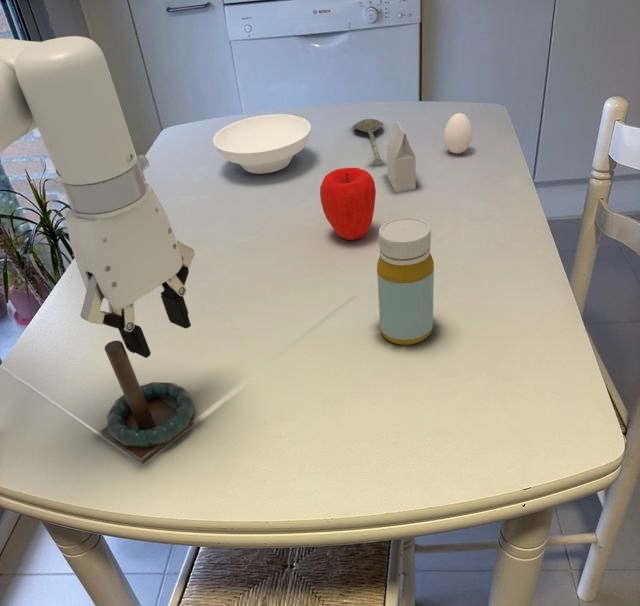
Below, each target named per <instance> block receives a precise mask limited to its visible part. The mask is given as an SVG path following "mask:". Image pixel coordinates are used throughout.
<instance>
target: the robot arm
mask: <svg viewBox="0 0 640 606" xmlns="http://www.w3.org/2000/svg"><path fill="white" fill-rule="evenodd" d="M35 129H38V132H39V134H40V137H41V139H42V141H43V144H44V146H45V148H46V152H47V154H48V156H49V158H50V161H51V163H52V166H53V169H54V171H55V173H56V175H57V177H58V180H59V183H60V186H61V188H62V190H63V192H64V195H65V197H66V200H67V202H68V204H69V207H70V210H68V211H67V212H66V213H65V215H64V216H65V217H64V218H65V223H66V228H67V229H66V230H67V233H68V238H69V242H70V246H71V249H72V253H73V257H74V259H75V263H76V265H77V269H78V271H79V274H80V277H81V280H82V282H83V285H84V287H85V290H86V293H85V297H84V300H83V304H82V308H81V312H80V318H81V319H82V320H84V321H87V322H89V323H92V324H97V325H103V326H108V327H110V328H115V329H118V332H119V335H120V337H121V339H122V342H123V345H124V347H125V349H126V350H128V351H129V352H130V353H133V354H136V355H138V356H141V357H142V358H145V359H147V358H149V357H150V356H151V354H152V352H151V349H150V347H149V344H148V342H147V339H146V336H145V334H144V331H143V329H142V327H141V326H140V325H138V324H136V322H135V307H134V306H135V305H134V303H135V302H137V301H138V300H140V299H141V298H143V297H144V296H146V295H148V294H149V293H151V292H152V291H153V290H155V289H157V288H158V287H161V288H162V290H163V291H161V292H160V298H161V302H162V304H163V306H164V310H165V312H166V316H167V318H168V321H169V323H171V324H174V325H176V326H178V327H180V328H183V329H189V328H191V326H192V324H191V321H190V317H189V310H188V307H187V304H186V301H185V297H184V296H185V295H186V293H187V288H186V286H185V285H186V282H187V280H188V276H189V274H190V270H189V268H190V267H191V264H192V261H193V259H194V256H195V249H193V248H192V247H190V246H188V245H186V244H184V243H182V242H180V241H178V240H177V238H176V235H175V232H174V230H173V227H172V224H171V222H170V219H169V217H168V215H167V213H166V211H165V209H164V206H163V205H162V203H161V201H160V199H159V197H158V195H157V194H156V192H155V190H154V189H153V187H152V186H151V184H148V183H147V182H146V178H145V174H144V171H145V169H147V168H150V163H149V160H148V158H147V156H146V155H145V154H143V153H142V154H139V155H137V153H136V150H135V146H134V144H133V141H132V140H133V139H132V137H131V134H130V130H129V128H128V125H127V122H126V118H125V116H124V113H123V109H122V106H121V102H120V100H119V97H118V93H117V91H116V88H115V84H114V81H113V78H112V75H111V72H110V69H109V65H108V63H107V60H106V57H105V55H104V52H103V50H102V49H101V47H100V46H99V45H98V44H97V42H95V41H94V40H93V39H91V38H88V37H86V36H79V35H70V36H63V37H56V38H55V37H54V38H52V39H47V40H43V41H32V40H23V39H22V40H21V39H17V38H16V39H15V38H0V154H1V153H2V152H3V151H5V150H6V149H7V148H9V147H10V146H11V145H13V144H14V143H15V142H16V141H17V140H18V139H20V138H22V137H24V136H25V135H27V134H29V133H30V132H32V131H34V130H35ZM104 299H106V301H107V302H108V311H104V310H101V307H102V304H103V300H104Z"/></svg>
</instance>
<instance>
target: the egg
mask: <svg viewBox="0 0 640 606" xmlns="http://www.w3.org/2000/svg"><path fill="white" fill-rule="evenodd" d="M472 138H473V127H472V124H471V121H470V120H469V117H468V116H466V115H465V114H464V113H463V112H462V113H461V112H458V113H455V114H453V115H452V116H451V117H450V118H449V120H448V121H447V123H446V125H445V128H444V133H443V140H444V144H445V147H446V148H447V150H449V152H450V153H452V154H455V155H459V154H462V153H464V152H465V151H466V150H467V149H468V148H469V146H470V145H471V142H472Z"/></svg>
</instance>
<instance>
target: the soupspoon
mask: <svg viewBox="0 0 640 606" xmlns="http://www.w3.org/2000/svg"><path fill="white" fill-rule="evenodd" d="M382 126H384V123H383V122H382V121H381V120H379V119H375V118H366V119H365V118H364V119H361V120H359V121H357V122H356V123H355V124H353V125H352V129H356V130H358V131H361V132H365V133H367V134H368V135H369V138H370V141H371V144H372V147H373V151H374V153H373V155H374V159H373V161H372V163H373V165H374V166H381V165H382V163H383V158H381V157H380V153H379V149H378V144H377V142H376V139H375V135H374V133H375V132H376V131H377V130H379V129H380V128H381V127H382Z"/></svg>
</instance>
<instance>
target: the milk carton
mask: <svg viewBox="0 0 640 606" xmlns="http://www.w3.org/2000/svg"><path fill="white" fill-rule="evenodd" d="M386 161H387V164H386V165H387V178H388V181H389V182H390V184H391V186H392V188H393V190H394V192H395V193H399V192H404V191H410V190H416V189H417V187H416V186H417V184H416V180H417V179H416V177H417V176H416V173H417V172H416V171H417V170H416V155H415V153H414V151H413V149H412V146H411V145H410V142H409V140H408V137H407V133H406V132H405V131H404V129H403V127H402V125H401V124H400V122H398V120H397V121H396V120H395V121H394V127H393V129H392V132H391V135H390V137H389V139H388V141H387V144H386Z"/></svg>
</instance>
